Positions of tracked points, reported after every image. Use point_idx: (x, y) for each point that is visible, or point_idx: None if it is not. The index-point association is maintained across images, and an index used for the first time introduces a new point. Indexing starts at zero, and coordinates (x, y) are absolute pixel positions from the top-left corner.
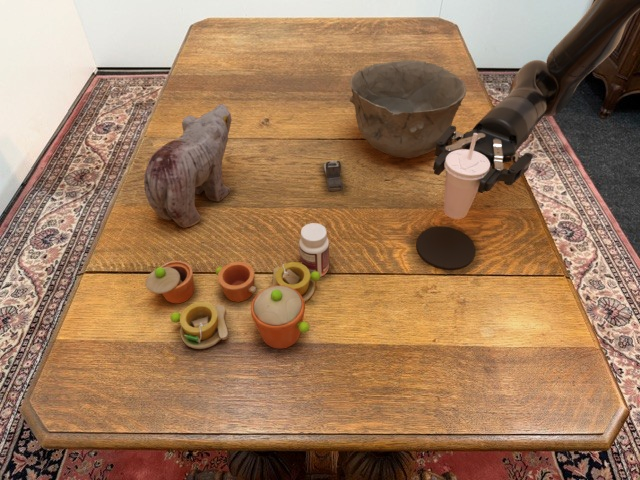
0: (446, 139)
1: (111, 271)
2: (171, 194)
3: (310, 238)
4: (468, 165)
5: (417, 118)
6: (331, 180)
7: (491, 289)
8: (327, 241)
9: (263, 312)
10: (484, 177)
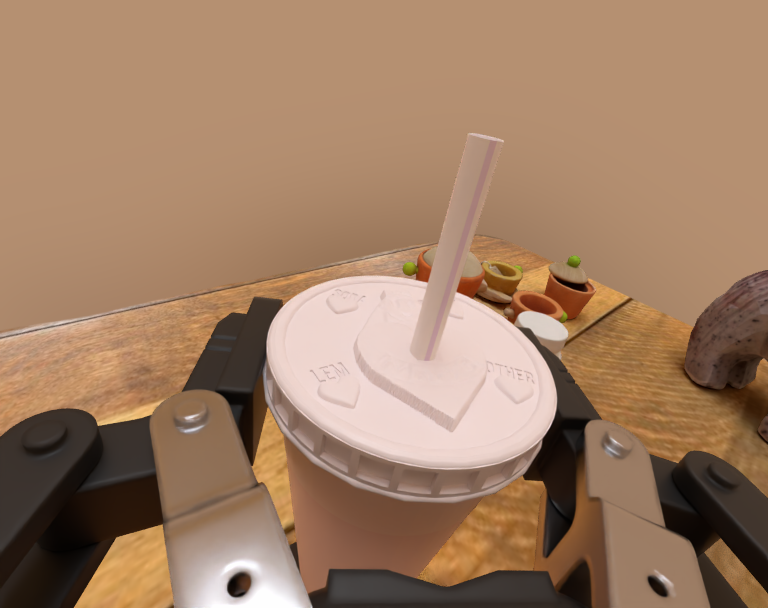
0: (761, 542)
1: (623, 305)
2: (720, 297)
3: (529, 313)
4: (387, 308)
5: None
6: None
7: (135, 564)
8: None
9: None
10: (271, 316)
